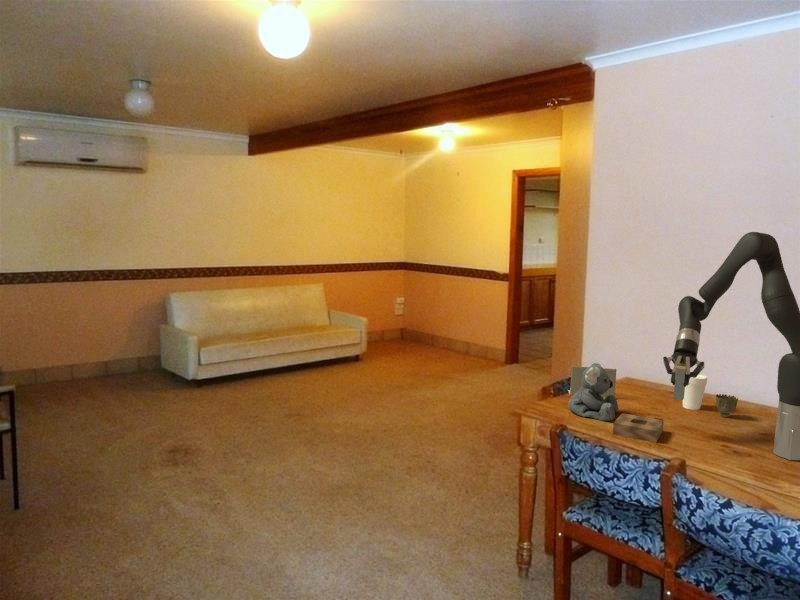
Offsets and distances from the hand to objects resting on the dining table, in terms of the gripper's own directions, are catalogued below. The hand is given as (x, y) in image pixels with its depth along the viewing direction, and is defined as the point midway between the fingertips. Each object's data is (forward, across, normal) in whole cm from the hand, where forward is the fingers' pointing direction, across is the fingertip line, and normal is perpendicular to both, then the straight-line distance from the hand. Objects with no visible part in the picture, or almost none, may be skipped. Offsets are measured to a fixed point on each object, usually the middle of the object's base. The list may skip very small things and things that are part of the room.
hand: (679, 384), depth 210 cm
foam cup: (-17, 0, +43) cm, 46 cm away
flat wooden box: (+16, -11, +9) cm, 22 cm away
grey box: (-13, -39, +40) cm, 57 cm away
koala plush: (+7, -30, +19) cm, 36 cm away
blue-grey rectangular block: (+2, 0, +5) cm, 6 cm away
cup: (-13, +13, +39) cm, 43 cm away
